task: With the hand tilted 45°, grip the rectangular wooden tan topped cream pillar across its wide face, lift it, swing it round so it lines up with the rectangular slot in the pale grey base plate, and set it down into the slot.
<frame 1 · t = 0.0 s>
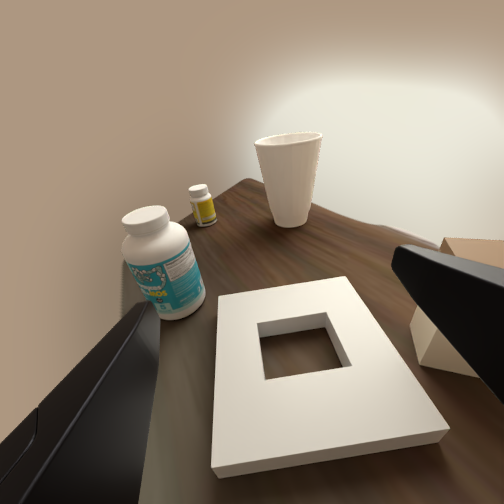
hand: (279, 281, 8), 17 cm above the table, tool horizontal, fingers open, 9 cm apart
cup: (290, 220, 49), on the table
socket plate: (299, 357, 23), on the table
pill bottle: (181, 302, 32), on the table
tan topped cream pillar: (451, 350, 22), on the table
supplement bottle: (207, 223, 53), on the table
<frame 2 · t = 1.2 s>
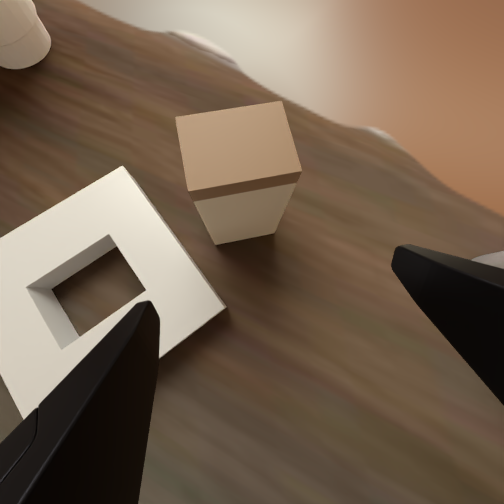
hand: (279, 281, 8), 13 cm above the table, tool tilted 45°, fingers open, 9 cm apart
cup: (22, 47, 27), on the table
pillar candle: (496, 301, 22), on the table
socket plate: (104, 290, 21), on the table
tan topped cream pillar: (240, 218, 23), on the table
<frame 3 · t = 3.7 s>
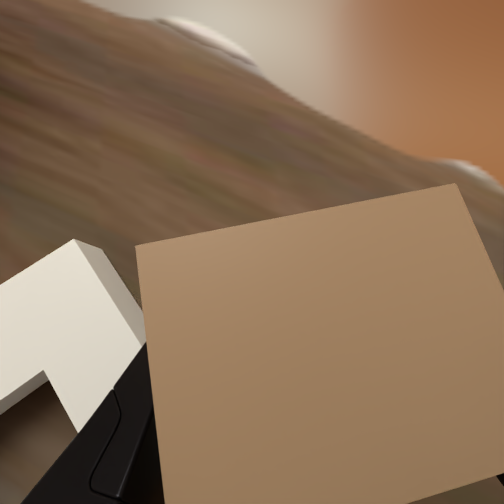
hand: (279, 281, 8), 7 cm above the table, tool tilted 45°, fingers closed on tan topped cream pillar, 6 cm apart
socket plate: (44, 449, 12), on the table
tan topped cream pillar: (268, 312, 14), on the table, touching gripper
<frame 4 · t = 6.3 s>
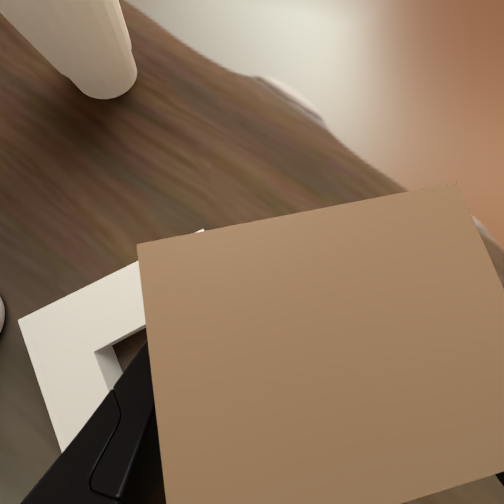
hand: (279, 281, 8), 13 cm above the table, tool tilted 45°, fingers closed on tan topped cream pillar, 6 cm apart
cup: (107, 75, 26), on the table
socket plate: (165, 355, 20), on the table
tan topped cream pillar: (268, 311, 14), point 7 cm above the table, touching gripper
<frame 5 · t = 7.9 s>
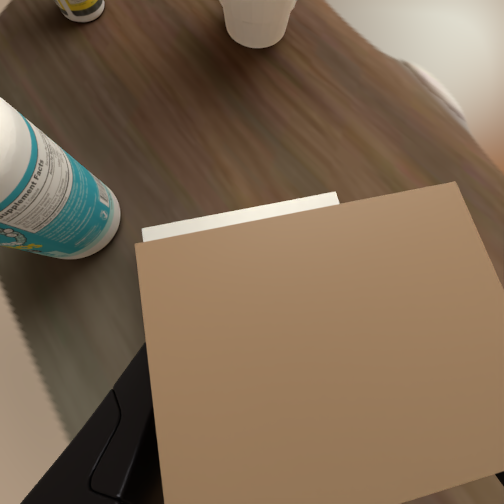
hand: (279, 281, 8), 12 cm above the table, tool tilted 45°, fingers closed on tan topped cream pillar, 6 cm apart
cup: (255, 26, 26), on the table
socket plate: (261, 307, 19), on the table
pill bottle: (83, 221, 20), on the table
tan topped cream pillar: (268, 311, 14), point 5 cm above the table, touching gripper
supplement bottle: (85, 10, 26), on the table
when the fingers open (7 cm above the table, at t = 9.2 s): tan topped cream pillar stays where it is, resting in socket plate.
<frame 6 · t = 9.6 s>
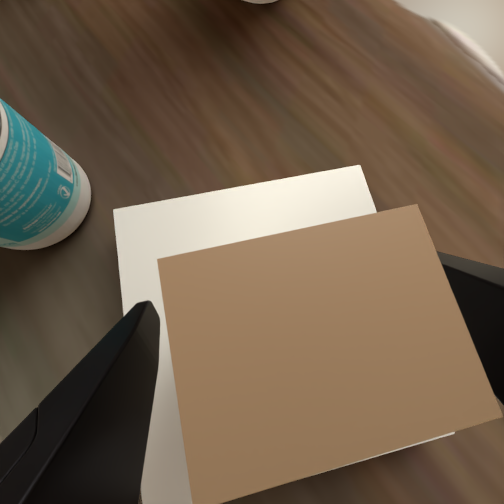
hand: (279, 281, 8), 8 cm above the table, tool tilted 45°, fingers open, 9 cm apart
socket plate: (266, 311, 15), on the table
pill bottle: (46, 204, 17), on the table
tan topped cream pillar: (267, 311, 15), resting in socket plate
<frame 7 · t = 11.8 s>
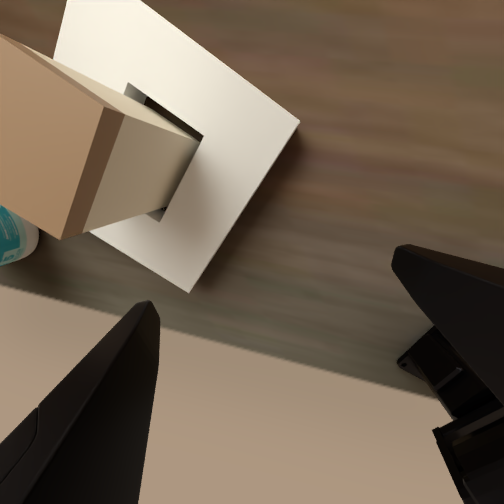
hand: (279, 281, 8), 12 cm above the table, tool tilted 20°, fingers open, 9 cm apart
socket plate: (161, 160, 19), on the table
pill bottle: (11, 222, 23), on the table
tan topped cream pillar: (161, 160, 19), resting in socket plate
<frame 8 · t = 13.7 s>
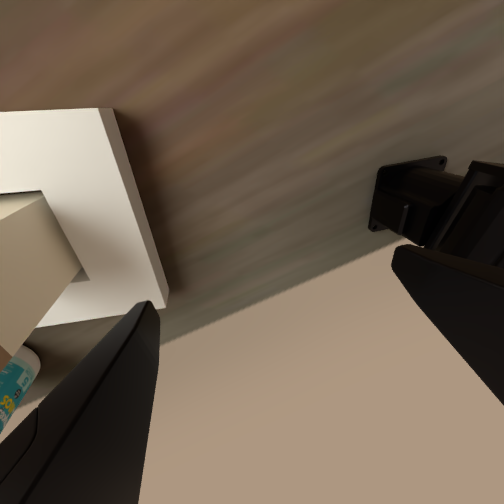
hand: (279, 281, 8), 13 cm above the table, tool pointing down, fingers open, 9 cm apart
socket plate: (43, 230, 18), on the table
pill bottle: (3, 356, 25), on the table
tan topped cream pillar: (43, 229, 18), resting in socket plate
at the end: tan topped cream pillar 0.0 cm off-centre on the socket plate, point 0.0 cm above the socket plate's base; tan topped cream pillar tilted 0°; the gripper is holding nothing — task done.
